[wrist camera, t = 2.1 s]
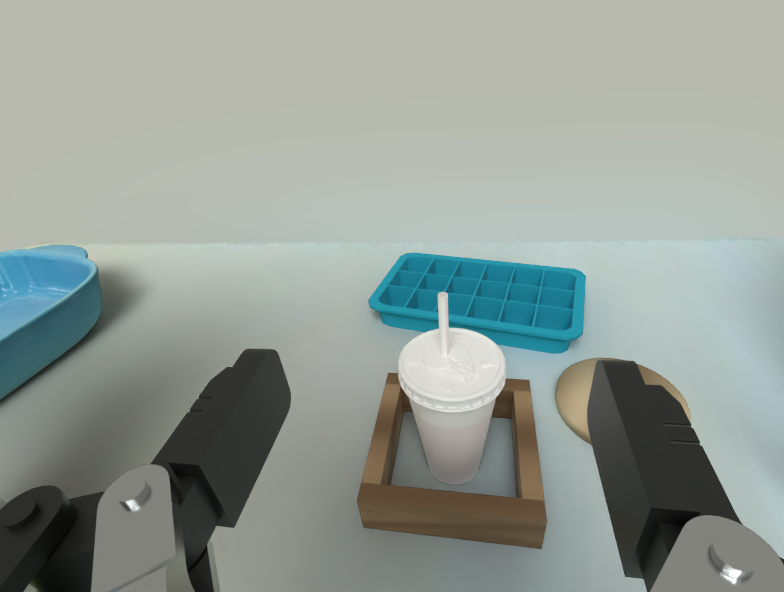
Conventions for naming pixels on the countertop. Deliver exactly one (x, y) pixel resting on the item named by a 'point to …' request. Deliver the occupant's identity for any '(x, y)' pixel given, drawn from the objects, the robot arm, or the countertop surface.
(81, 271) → the casserole dish
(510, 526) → the square wooden frame
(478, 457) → the smoothie
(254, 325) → the countertop surface
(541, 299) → the ice cube tray
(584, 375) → the trivet
